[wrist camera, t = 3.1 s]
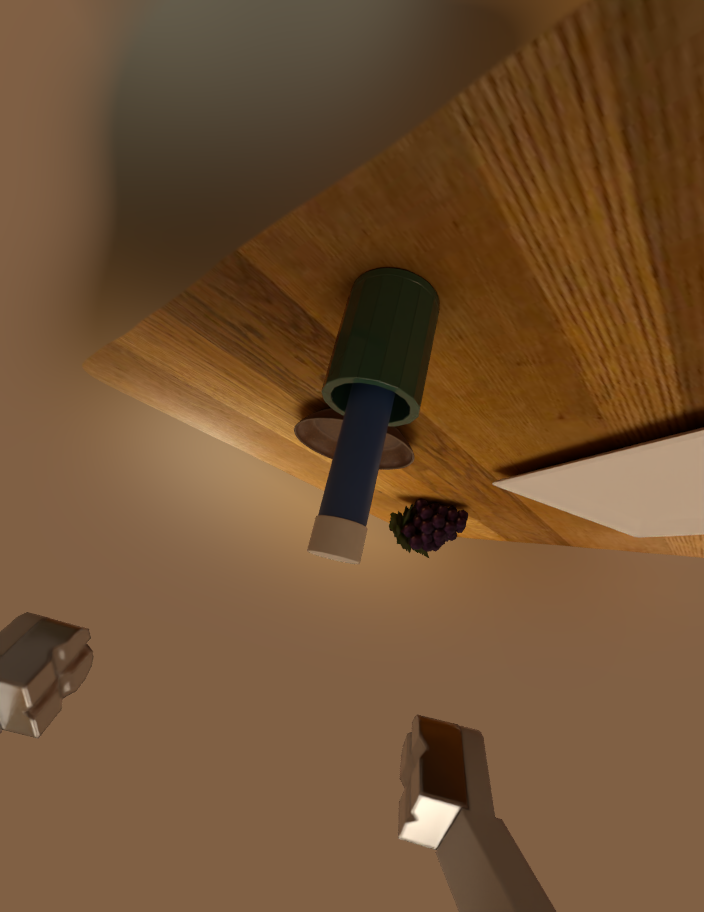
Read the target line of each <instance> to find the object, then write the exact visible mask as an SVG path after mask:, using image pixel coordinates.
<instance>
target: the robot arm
mask: <svg viewBox="0 0 704 912" xmlns="http://www.w3.org/2000/svg"><path fill="white" fill-rule="evenodd" d="M90 638H91V637H90V632H89V629H87V628H84V627H80V626H76V625H73V624H69V623H65V622H62V621H58V620H54V619H50V618H48V617H44V616H40V615H36V614H32V613H28V612H27V613H24V614H22V615H20V616H18V617H17V618H16V619H14V620H13V621H12V622H11V623H10V624H9V625H8V626H7V627H5V628H4V629H3V630H2V631H1V632H0V733H1V732H2V730H6V731H10V732H14V733H18V734H22V735H26V736H30V737H35V738H39V737H40V736H41V734H42V733H43V732H44V731H45V729H46V728H47V727H48V726H49V724H50V723H51V722H52V721H53V719H54V718H55V717H56V716H57V714H58V713H59V712H60V711H61V709H62V700H63V698H65V697H66V696H68V695H70V694H72V693H74V692H75V691H77V689H78V688H79V687H80V685H81V684H82V683H83V681H84V680H85V679H86V677H87V675H88V673H89V671H90V668H91V666H92V661H93V651H92V650H91V648H90V647H89V646H88V645H87V644H86V643H87V642H88V641H89V640H90ZM488 773H489V772H488V766H487V759H486V752H485V745H484V738H483V736H482V734H481V732H480V731H479V730H475V729H472V728H468V727H464V726H459V725H458V724H454V723H450V722H445V721H441V720H437V719H433V718H429V717H425V716H421V715H416V716H415V717H414V719H413V722H412V732H411V733H408V734H407V736H406V739H405V742H404V745H403V750H402V755H401V765H400V780H401V782H402V784H403V786H404V788H405V790H404V792H403V794H402V796H401V799H400V801H399V826H398V838H399V839H402V840H406V841H409V842H412V843H415V844H418V845H422V846H425V847H428V848H431V849H435V850H437V851H436V854H437V857H438V860H439V862H440V865H441V867H442V870H443V872H444V875H445V877H446V880H447V883H448V885H449V888H450V890H451V893H452V895H453V898H454V900H455V903H456V905H457V908H458V910H459V912H556V910H555V909H554V907H553V905H552V904H551V902H550V900H549V899H548V897H547V895H546V893H545V892H544V890H543V888H542V887H541V885H540V883H539V882H538V880H537V878H536V876H535V875H534V873H533V871H532V870H531V868H530V866H529V865H528V863H527V861H526V859H525V858H524V856H523V854H522V853H521V851H520V849H519V848H518V846H517V844H516V843H515V841H514V839H513V837H512V836H511V834H510V832H509V831H508V829H507V827H506V826H505V824H504V822H503V821H502V819H498V818H496V817H495V813H494V807H493V800H492V793H491V786H490V779H489V774H488Z"/></svg>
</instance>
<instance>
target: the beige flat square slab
mask: <svg viewBox="0 0 704 912" xmlns="http://www.w3.org/2000/svg"><path fill="white" fill-rule="evenodd" d="M493 485H495V486H497V487H500V488H503V489H505V490H508V491H511V492H514V493H516V494H519V495H522V496H524V497H527V498H530V499H533V500H535V501H538V502H541V503H544V504H546V505H549V506H552V507H555V508H557V509H560V510H563V511H566V512H568V513H571V514H574V515H576V516H579V517H582V518H585V519H587V520H590V521H593V522H596V523H598V524H601V525H604V526H607V527H609V528H612V529H615V530H618V531H620V532H623V533H626V534H629V535H631V536H634V537H659V536H680V535H701V534H704V427H703V428H699V429H695V430H691V431H687V432H683V433H679V434H675V435H672V436H668V437H664V438H660V439H656V440H652V441H648V442H644V443H640V444H637V445H633V446H629V447H625V448H621V449H617V450H613V451H609V452H605V453H601V454H598V455H594V456H590V457H586V458H582V459H578V460H574V461H570V462H566V463H563V464H559V465H555V466H551V467H547V468H543V469H539V470H535V471H531V472H527V473H524V474H520V475H516V476H512V477H508V478H504V479H500V480H497V481H495V482H493Z"/></svg>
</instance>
